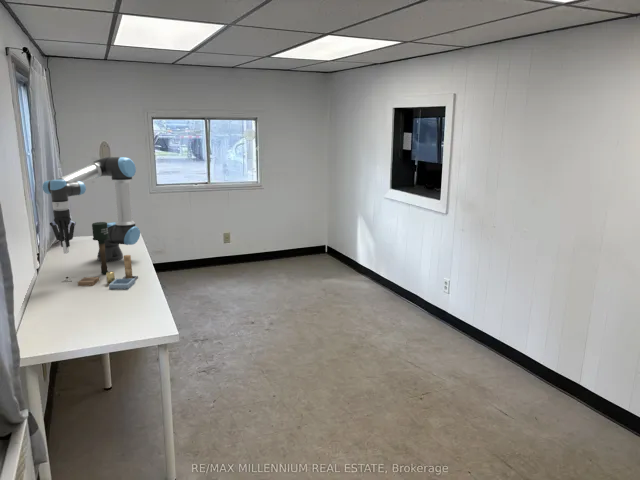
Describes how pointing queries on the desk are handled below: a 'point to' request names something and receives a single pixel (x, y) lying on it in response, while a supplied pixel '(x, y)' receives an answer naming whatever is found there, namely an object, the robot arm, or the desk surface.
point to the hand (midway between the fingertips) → (66, 252)
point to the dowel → (128, 266)
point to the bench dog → (110, 277)
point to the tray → (121, 283)
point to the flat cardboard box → (88, 281)
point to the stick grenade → (101, 242)
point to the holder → (133, 277)
